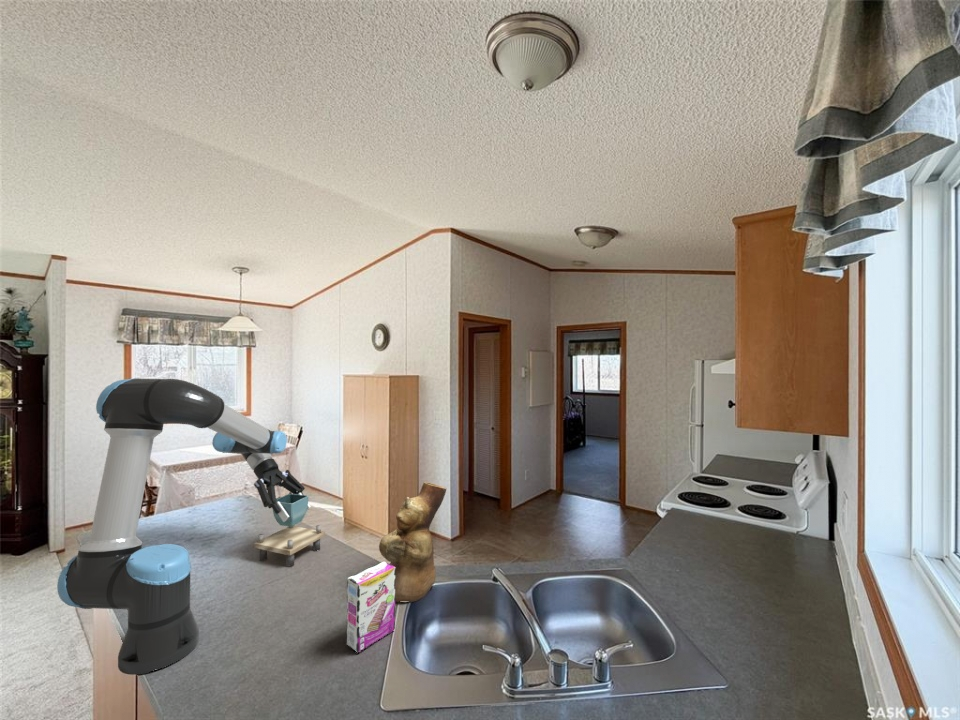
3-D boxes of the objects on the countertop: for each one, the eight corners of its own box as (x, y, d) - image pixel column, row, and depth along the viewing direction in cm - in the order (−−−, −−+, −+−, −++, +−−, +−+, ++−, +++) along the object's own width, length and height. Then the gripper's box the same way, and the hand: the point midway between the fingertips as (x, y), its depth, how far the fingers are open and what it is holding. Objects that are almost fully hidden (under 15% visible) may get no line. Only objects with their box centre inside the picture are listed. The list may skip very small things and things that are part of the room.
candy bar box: (358, 655, 96) (357, 584, 96) (346, 646, 99) (345, 577, 99) (396, 630, 105) (396, 565, 105) (384, 623, 108) (383, 559, 108)
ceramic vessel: (371, 587, 125) (370, 487, 125) (432, 563, 139) (431, 474, 139) (396, 611, 113) (396, 501, 113) (460, 583, 127) (460, 484, 127)
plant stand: (325, 548, 150) (324, 524, 150) (290, 569, 136) (290, 543, 136) (291, 541, 156) (290, 518, 156) (254, 560, 141) (253, 535, 141)
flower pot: (270, 527, 143) (270, 501, 143) (289, 517, 151) (289, 493, 151) (291, 530, 140) (291, 503, 140) (309, 520, 149) (309, 495, 149)
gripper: (281, 463, 161) (314, 510, 156) (230, 479, 141) (265, 533, 136) (292, 451, 160) (325, 497, 154) (241, 465, 139) (277, 519, 134)
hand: (297, 514), depth 145 cm, fingers closed on flower pot, 9 cm apart
